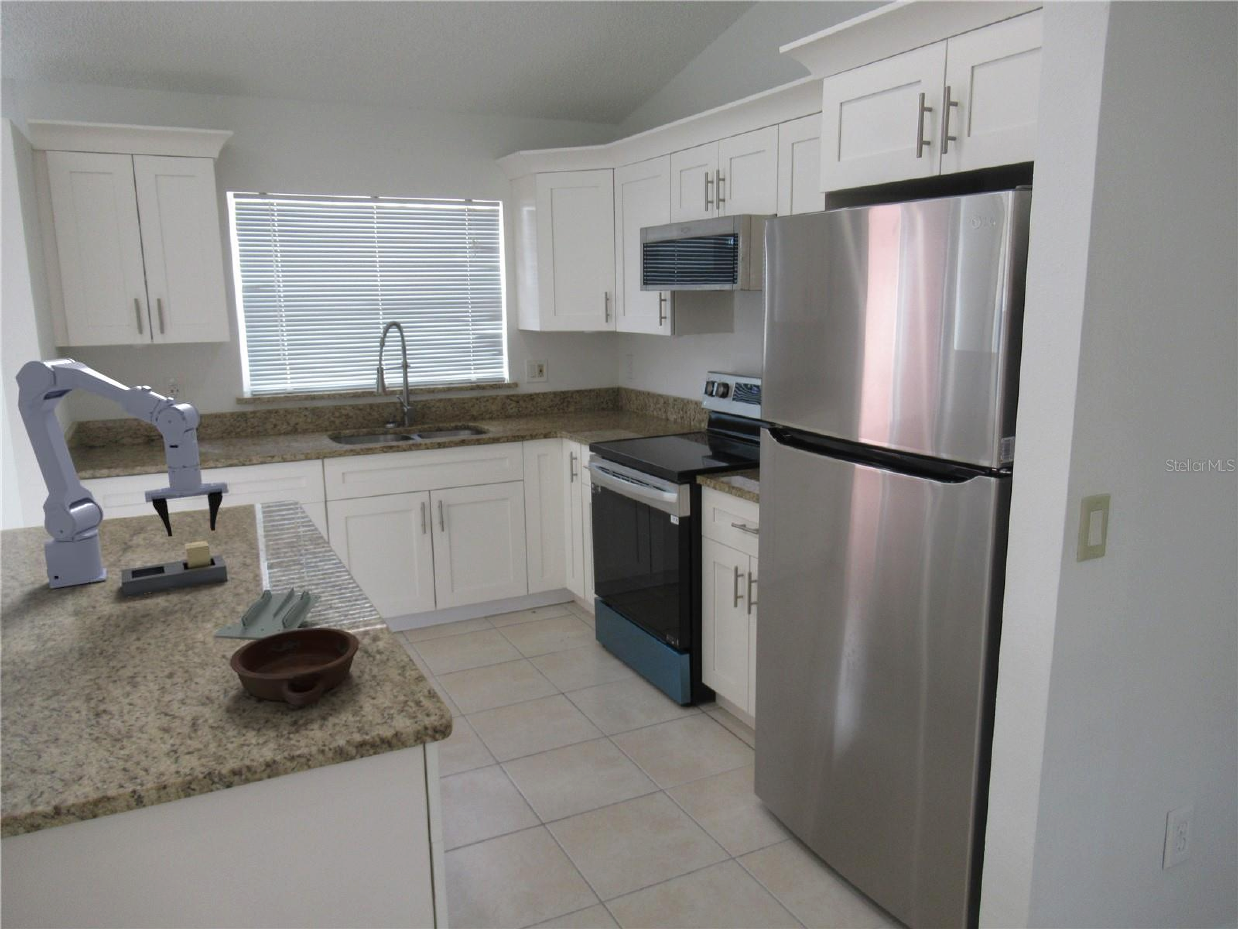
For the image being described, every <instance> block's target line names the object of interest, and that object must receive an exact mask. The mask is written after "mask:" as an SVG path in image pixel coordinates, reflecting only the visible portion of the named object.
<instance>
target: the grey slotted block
mask: <svg viewBox="0 0 1238 929" xmlns="http://www.w3.org/2000/svg"><path fill="white" fill-rule="evenodd" d="M210 561H211V566H208V567H201V568H195V569H189V570H188V567H187V560H183V559H182V560H179V561H173V562H164V563H158V564H151V565H146V566H140V567H139V566H137V567H133V568H132V567H131V568H124V569H121V588H122V594H123V598H124V597H125V598H129V597H128V596H131V597H136V595H137V596H141V595H140V594H143V595H145V594H144V593H149V592H150V593H149V594H152V593H151V592H155V593H161V592H166V590H167V591H172V590H171V589H173V590H177V589H184V587H185V588H190V587H196V586H195V585H197V586H202V585H207V584H208V583H210V584H214V583H213V582H216V583H221V582H227V581H228V572H227V565H226V563H225V560H224V558H223V555H222V554H217V555H212V556H211V555H210Z"/></svg>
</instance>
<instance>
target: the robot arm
mask: <svg viewBox="0 0 1238 929" xmlns="http://www.w3.org/2000/svg"><path fill="white" fill-rule="evenodd" d="M15 380H16V383H17V385H18V388H19V389H18V399H17V400H18V401H17V407H18V411H19V414H20V416H21V418H22V423H23V425H24V427H25V430H26V433H27V435H28V439H29V441H30V444H31V447H32V450H33V453H34V456H35V459H36V461H37V463H38V467H39V470H40V472H41V476H42V478H43V481H44V483H45V486H46V489H47V492H48V495H47V497H46V500H45V501H44V503H43V505H42V508H43V512H44V521H43V522H44V523H43V524H44V529H45V530H46V533H47V534H48V535H49V536H51V538H52V539H50V540H46V541H44V544H43V545H44V546H43V549H44V556H45V564H46V575H47V578H48V581H49V583H48V584H49V589H57V588H62V587H69V586H75V585H76V586H77V585H83V584H89V582H90V583H95V582H102V581H106V580H107V571H108V570H107V568H106V567H104V566H103V558H102V553H101V552H102V551H101V545H100V538H99V531H100V528H99V526H100V525H101V524H102V522H103V520H104V511H103V508H102V506H101V505H100V504H99V502H97V501H96V500H95V498H94V496H93V492H92V491H90V490H89V489H87V488H86V487H84V486H83V485H81V482H80V478H79V477H78V473H77V471H76V468H75V465H74V463H73V460H72V456H71V454H70V451H69V448H68V445H67V443H66V440H65V437H64V434H63V432H62V429H61V426H60V423H59V419H58V417H57V415H56V412H55V409H56V407H57V406H58V404H59V403H60V402H61V400H62V399H63V397H64V396H67V394H69V393H70V392H72V391H73V390H77V389H81V390H84V391H87V392H89V393H92V394H95V395H97V396H99V397H102V398H105V399H108V400H110V401H113V402H116V403H118V404H120V405H121V407H122V410H123V412H124V413H125V414H127V415H131V416H132V417H135V418H137V419H139V420H141V421H144V422H147V423H149V424H151V425H153V426H155V427H156V429H157V430H158V432H159V433H160V434H161V435H162V438H163V443H164V449H165V450H164V451H165V459H166V464H167V465H166V468H167V474H168V475H167V476H168V483H169V487H162V488H158V489H151V490H144V498H145V503H152V507H153V509H154V510H155V511H156V513H157V514H158V516H159V517H160V519H161V520H162V523H163V524H164V527H165V530H166V533H167V536H168V537H170V538H171V537H173V531H172V528H171V527H172V526H171V522H170V514H169V507H168V501H167V500H174V499H182V498H189V497H199V496H207V503H208V511H209V524H210V525H209V526H210V530H211V531H212V532H214V531H216V523H217V522H216V521H217V517H218V516H217V515H218V512H219V509H220V506H221V504H222V501H223V494H228V493H229V489H228V483H227V482H226V481H224V482H223V481H222V482H207V483H205V482H204V483H203V480H202V471H201V462H200V452H199V445H198V437H197V431H196V430H197V429H196V428H198V426H199V425H200V422H201V414H200V412H199V410H198V408H196V407H195V406H194V405H192V404H191V403H190V402H188V401H181V402H175V398H172V397H166V396H164V395H162V394H158V393H155V392H154V391H152V387H150V386H148V385H144V386H143V385H142V386H140V385H138V386H134V387H131V388H129V387H127V386H126V385H123V384H122V383H120V382H118V381H116V380H114V379H112V378H110V377H108V376H106V375H104V374H102V373H100V372H97V371H96V370H94V369H92V368H90V367H88V366H87V365H86V364H84V363H83V362H80V361H75V360H73V359H72V358H70V357H59V358H58V357H57V359H56V358H54V359H47V360H44V359H43V360H31V361H28V362H26V363H24V364H23V366H22V367H21V368H20V369H19V371H18V373H17V374H16V376H15Z"/></svg>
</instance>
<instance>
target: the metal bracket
mask: <svg viewBox="0 0 1238 929" xmlns="http://www.w3.org/2000/svg"><path fill="white" fill-rule="evenodd" d="M321 597H322V596H321V594H310V591H309V590H303V591H302V593H301V594H299V593H298V594H297V593H295V588H294V587H291V588H290V589H289V591H288V592H287V593H276V592H275V593H273V592H272V591H271V590H270V589H264V590H263V592H262V593H261V595H260V596H259V597H258V599H257V600H256V601H254V602H253V603H252V604H251V605H250V606H249V607H248V609H247V610H246V611H245V613H243V615H241V618H240V620H239V621H238V622H237V623H236V624H235V625H222V626H221V628H220V629H219V630H218V631H217V633H215V636H214V638H215V639H216V638H217V639H229V640H231V639H248V640H258V639H260V638H264V637H267V636H270V635H274V634H278V633H282V632H287V631H292V630H298V629H302V627H300V625H301V624H302V623H303V622H304V621H305V619H306V618H307V616H308V615H309V614H310V612H311V611H312V609H313V608H314V606H316V604H317V603H318V601H319V600H320V598H321ZM299 627H300V628H299Z"/></svg>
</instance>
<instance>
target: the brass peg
mask: <svg viewBox="0 0 1238 929" xmlns="http://www.w3.org/2000/svg"><path fill="white" fill-rule="evenodd" d="M184 549H185V550H184V552H185V558H186V560H187V567H188V570H189V569H195V568H201V567H208V566H211V561H210V556H211V554H210V544H209V543H208V541H207V540H202V541H196V542H190V543H185V544H184Z"/></svg>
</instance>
